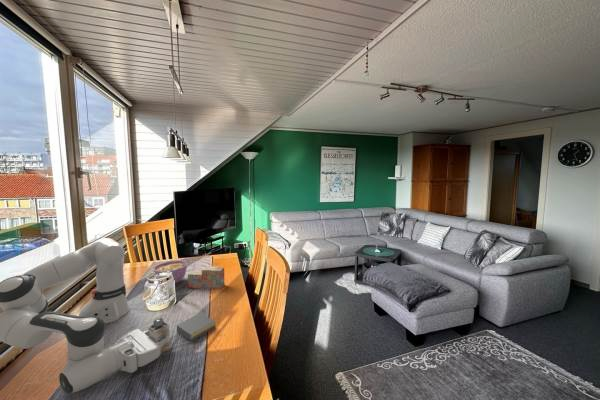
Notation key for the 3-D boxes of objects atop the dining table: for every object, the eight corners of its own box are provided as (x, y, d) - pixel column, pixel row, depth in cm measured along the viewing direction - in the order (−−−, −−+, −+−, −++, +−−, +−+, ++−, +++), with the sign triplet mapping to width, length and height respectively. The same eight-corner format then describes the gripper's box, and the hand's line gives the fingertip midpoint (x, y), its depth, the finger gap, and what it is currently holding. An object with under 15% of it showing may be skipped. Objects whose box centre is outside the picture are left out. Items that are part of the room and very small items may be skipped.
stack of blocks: (188, 288, 156) (187, 269, 155) (193, 284, 162) (192, 266, 161) (221, 289, 155) (220, 270, 154) (224, 284, 161) (224, 266, 160)
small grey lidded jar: (156, 356, 97) (154, 331, 96) (149, 350, 100) (147, 326, 99) (171, 348, 102) (169, 324, 101) (164, 342, 105) (162, 319, 104)
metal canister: (154, 331, 98) (154, 323, 97) (153, 327, 100) (152, 320, 100) (164, 328, 100) (163, 320, 100) (162, 324, 103) (162, 316, 102)
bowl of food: (189, 274, 178) (188, 259, 177) (187, 286, 159) (186, 268, 158) (157, 278, 171) (156, 262, 170) (151, 291, 152) (150, 273, 151)
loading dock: (191, 341, 106) (191, 335, 105) (176, 331, 113) (176, 324, 113) (215, 327, 115) (215, 321, 115) (200, 318, 123) (200, 313, 122)
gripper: (112, 350, 96) (150, 332, 108) (134, 375, 84) (174, 351, 96) (111, 335, 96) (149, 318, 107) (132, 358, 84) (173, 336, 95)
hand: (161, 334), depth 101 cm, fingers open, 8 cm apart
